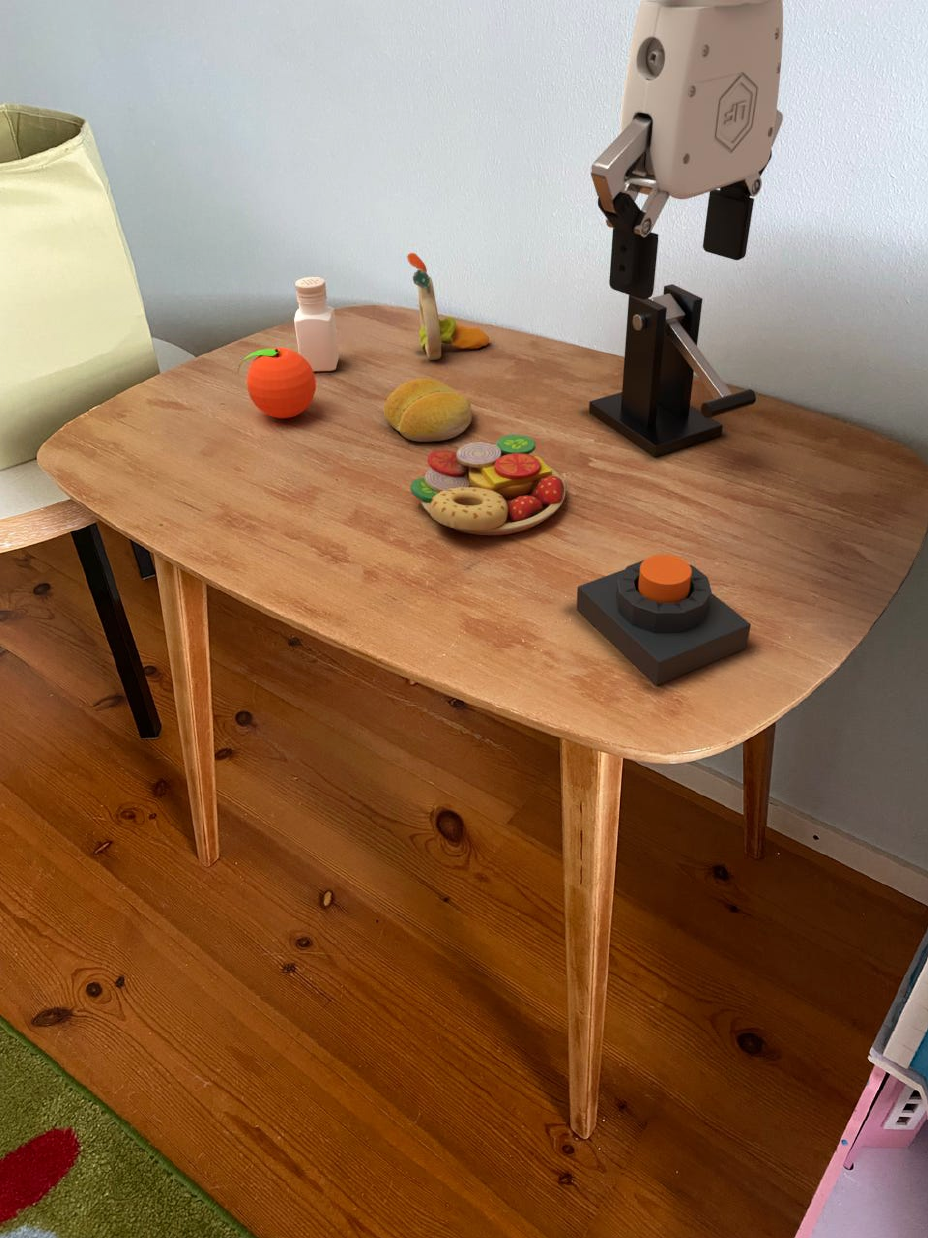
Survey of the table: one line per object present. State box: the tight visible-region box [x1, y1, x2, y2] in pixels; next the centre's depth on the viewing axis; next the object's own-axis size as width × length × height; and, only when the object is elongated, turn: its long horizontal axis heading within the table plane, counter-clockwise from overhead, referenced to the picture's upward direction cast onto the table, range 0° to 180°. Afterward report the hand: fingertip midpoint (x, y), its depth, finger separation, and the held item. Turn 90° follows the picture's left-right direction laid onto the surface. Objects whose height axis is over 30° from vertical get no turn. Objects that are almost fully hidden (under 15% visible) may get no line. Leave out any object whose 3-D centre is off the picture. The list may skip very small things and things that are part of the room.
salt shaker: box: [293, 276, 340, 372], centre depth 108 cm, size 4×4×10 cm
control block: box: [576, 559, 752, 686], centre depth 71 cm, size 10×8×4 cm
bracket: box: [588, 283, 724, 458], centre depth 94 cm, size 11×8×13 cm
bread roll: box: [383, 377, 473, 443], centre depth 98 cm, size 8×9×4 cm
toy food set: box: [409, 434, 566, 536], centre depth 86 cm, size 13×13×3 cm
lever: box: [650, 293, 757, 419], centre depth 89 cm, size 13×5×2 cm, turn 30°
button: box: [638, 554, 692, 603], centre depth 70 cm, size 4×4×2 cm
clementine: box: [237, 347, 317, 419], centre depth 100 cm, size 8×7×7 cm
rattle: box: [406, 252, 490, 361], centre depth 109 cm, size 8×8×12 cm
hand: (678, 273), depth 66 cm, fingers open, 9 cm apart
